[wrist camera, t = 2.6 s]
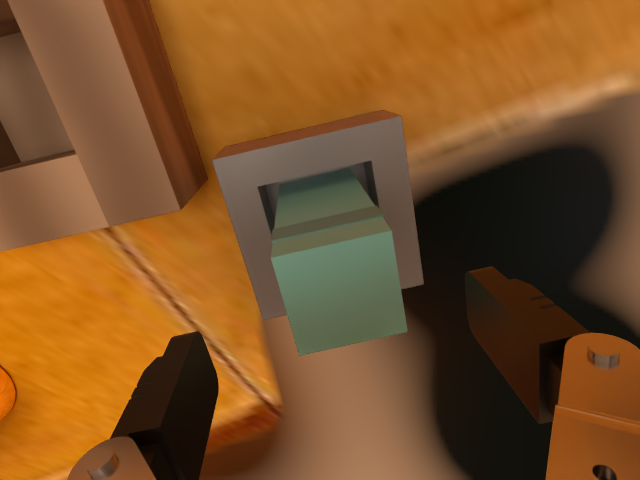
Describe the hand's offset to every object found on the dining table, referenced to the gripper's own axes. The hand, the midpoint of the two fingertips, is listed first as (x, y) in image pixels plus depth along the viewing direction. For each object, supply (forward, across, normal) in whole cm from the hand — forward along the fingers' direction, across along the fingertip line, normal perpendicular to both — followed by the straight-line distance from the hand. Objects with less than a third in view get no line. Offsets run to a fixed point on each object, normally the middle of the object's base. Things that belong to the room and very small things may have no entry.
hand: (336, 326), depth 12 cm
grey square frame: (+13, 0, 0) cm, 13 cm away
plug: (+12, 0, 0) cm, 12 cm away
